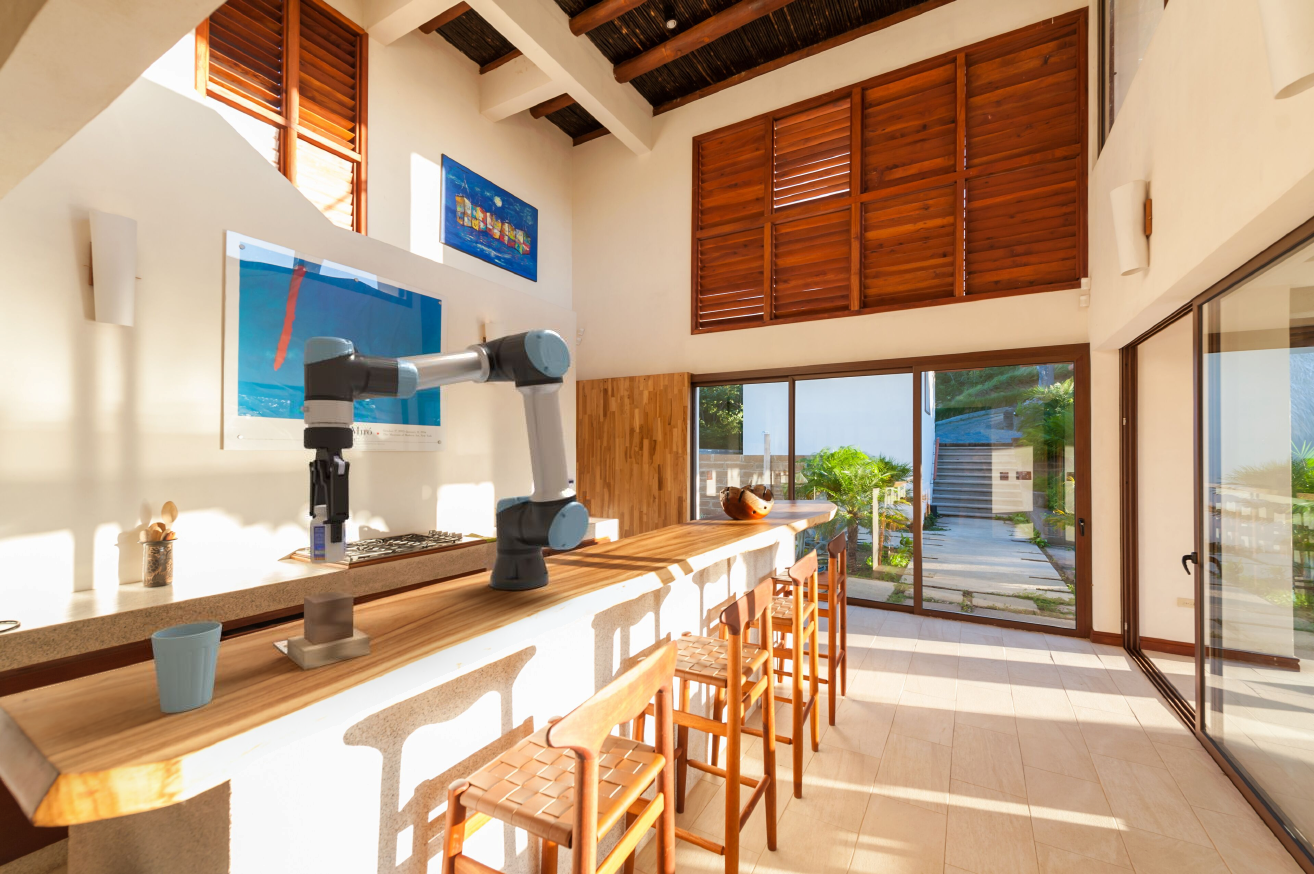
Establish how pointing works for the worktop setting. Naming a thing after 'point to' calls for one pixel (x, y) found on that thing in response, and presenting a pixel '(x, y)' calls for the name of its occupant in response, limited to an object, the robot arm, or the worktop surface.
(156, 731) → the worktop surface
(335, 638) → the walnut block
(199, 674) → the cup
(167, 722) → the worktop surface
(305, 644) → the oak base slab
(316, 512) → the pill bottle
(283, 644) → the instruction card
